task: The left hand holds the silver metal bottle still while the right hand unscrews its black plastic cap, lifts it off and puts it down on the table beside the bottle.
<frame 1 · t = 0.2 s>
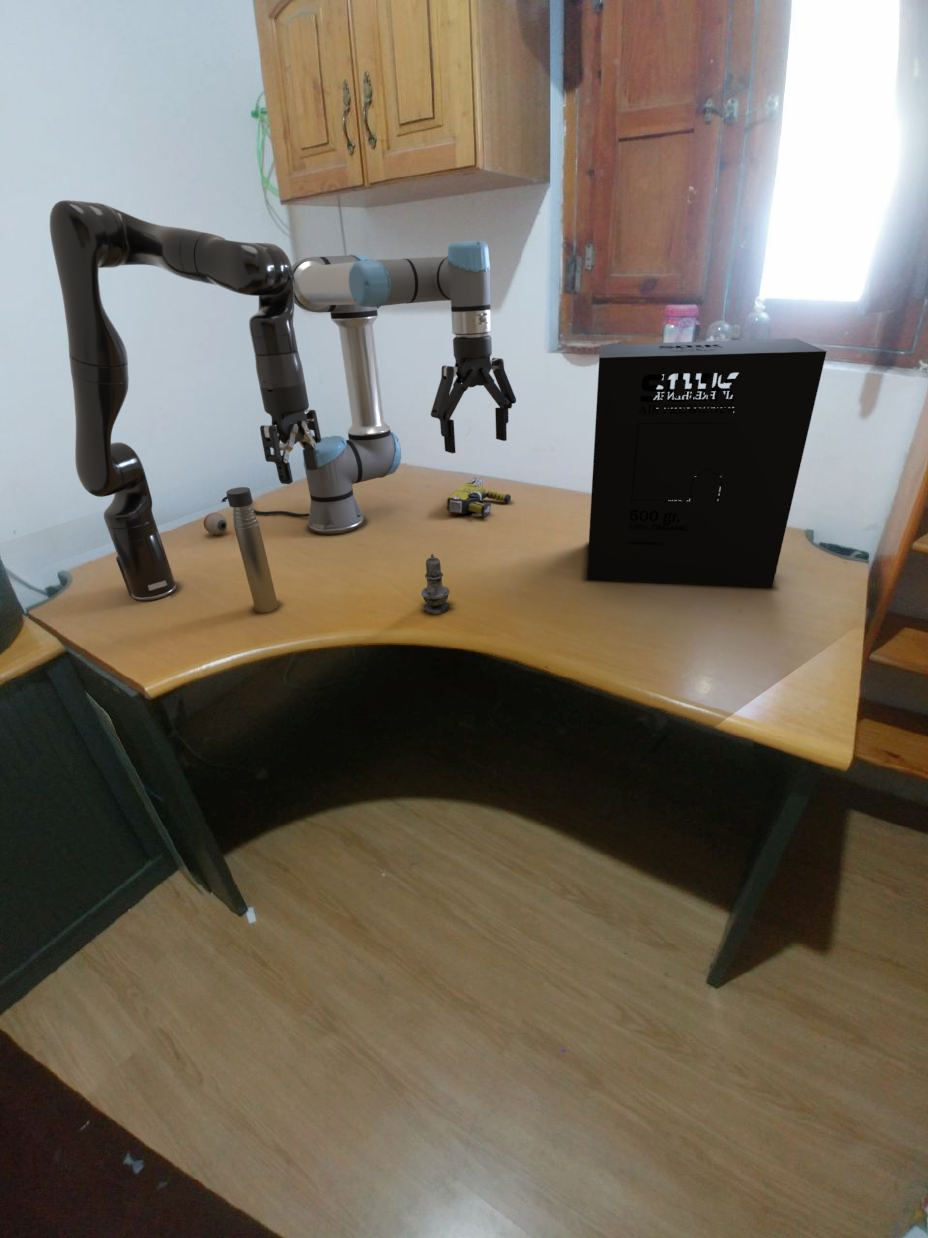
left hand: (299, 476, 110), 29 cm above the table, tool pointing down, fingers open, 8 cm apart
right hand: (476, 445, 127), 28 cm above the table, tool pointing down, fingers open, 13 cm apart
eyeball: (218, 534, 168), on the table
bottle: (266, 607, 129), on the table
toy gun: (483, 504, 178), on the table
grey metal turned piece: (436, 608, 125), on the table
cardboard box: (672, 564, 137), on the table
cap: (238, 492, 116), point 25 cm above the table, screwed on, not yet turned
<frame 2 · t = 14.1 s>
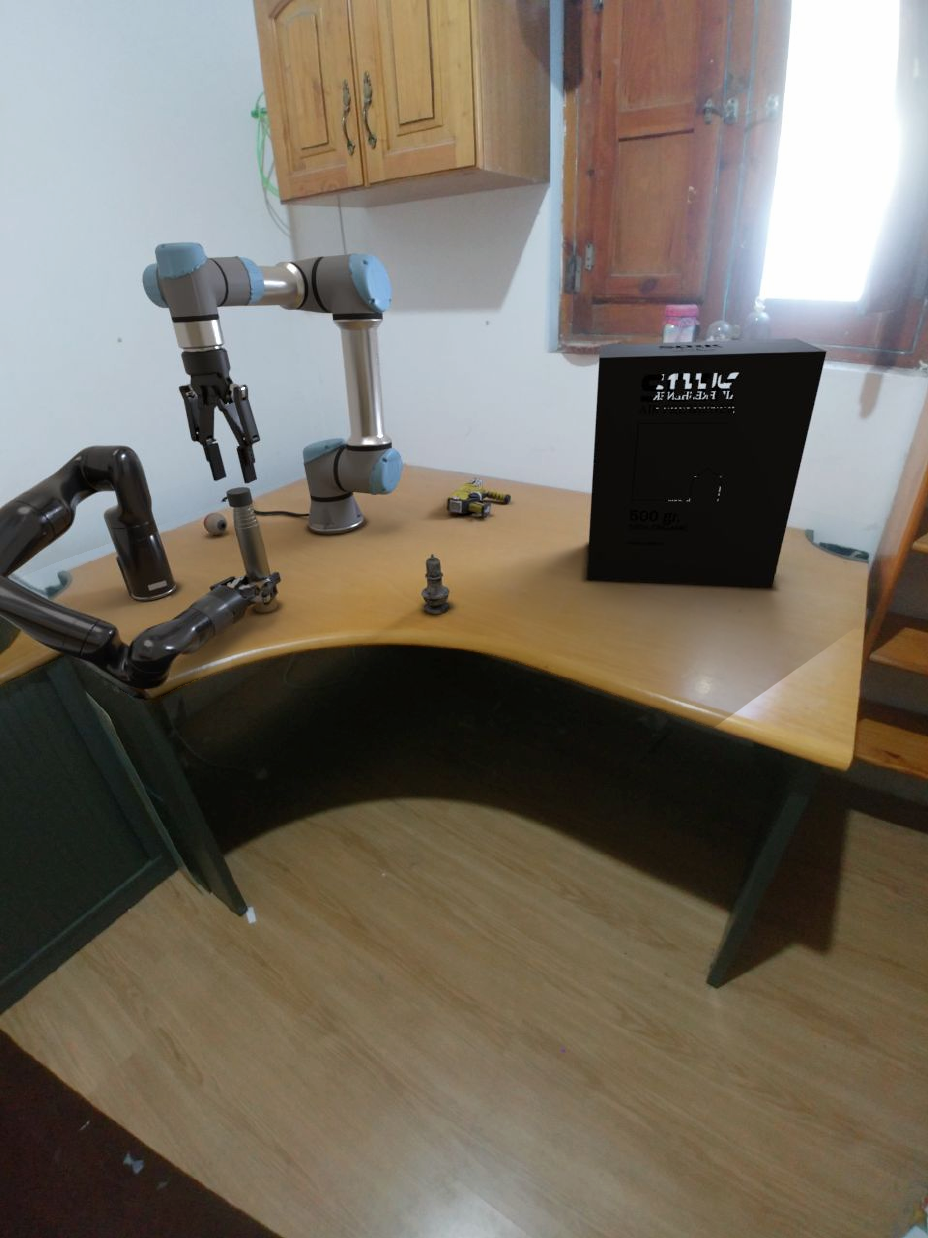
left hand: (267, 574, 128), 7 cm above the table, tool horizontal, fingers closed on bottle, 4 cm apart
right hand: (235, 479, 115), 28 cm above the table, tool pointing down, fingers open, 7 cm apart
bottle: (266, 607, 129), on the table, touching left hand
everything else where it was.
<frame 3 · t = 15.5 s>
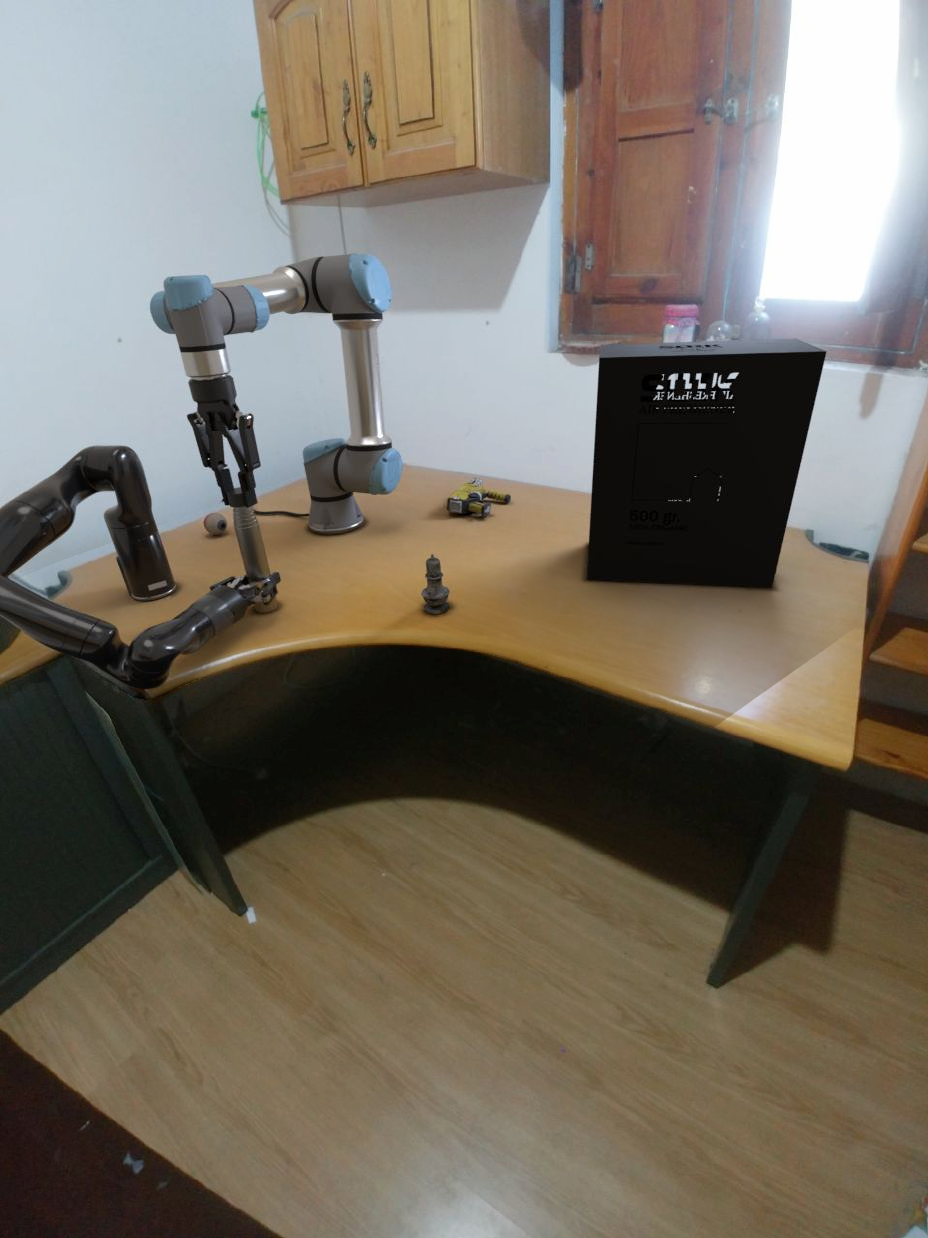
left hand: (267, 574, 128), 7 cm above the table, tool horizontal, fingers closed on bottle, 4 cm apart
right hand: (241, 503, 117), 23 cm above the table, tool pointing down, fingers closed on cap, 4 cm apart
bottle: (266, 607, 129), on the table, touching left hand
cap: (238, 492, 116), point 25 cm above the table, screwed on, not yet turned, touching right hand
everything else where it was.
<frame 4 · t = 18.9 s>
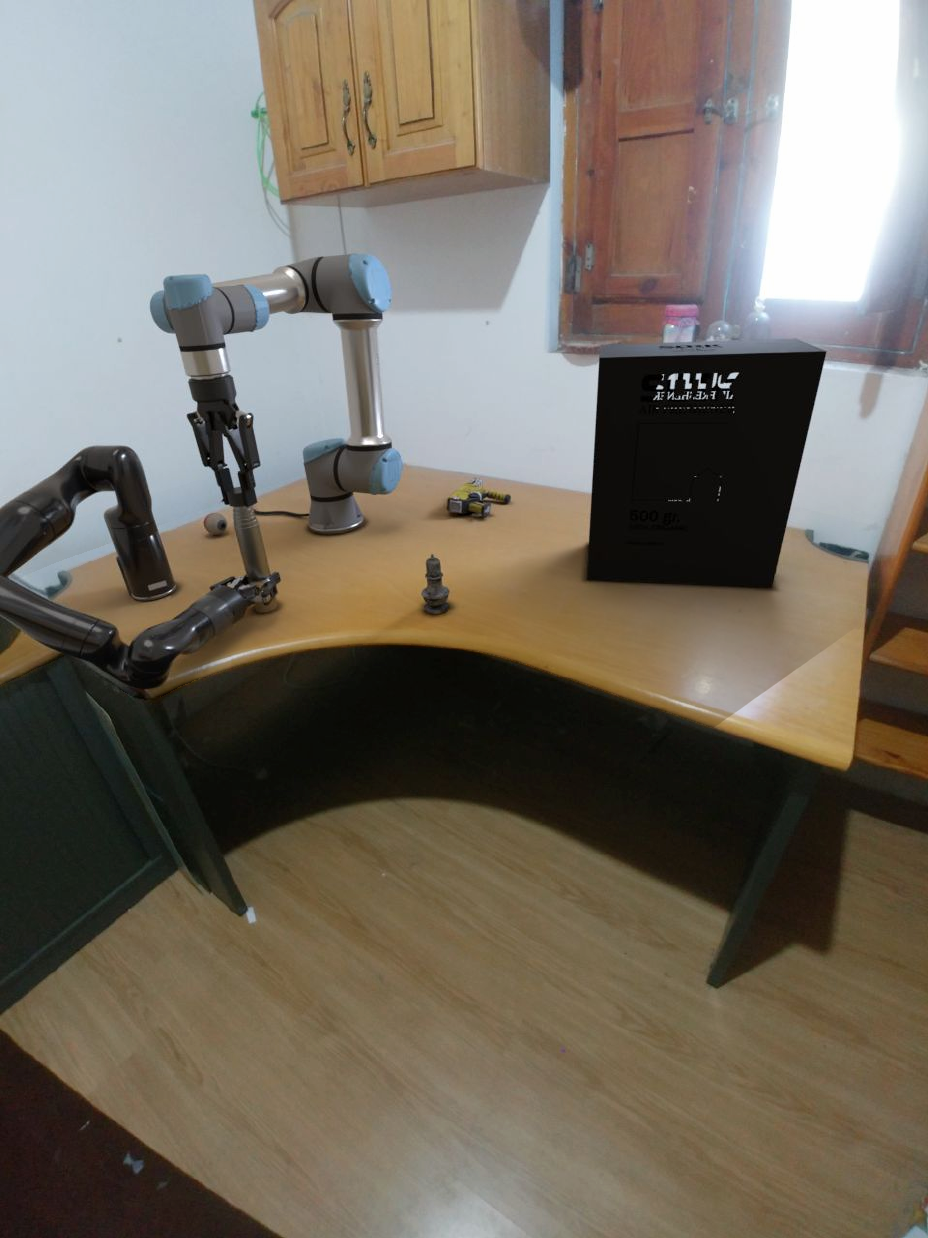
left hand: (267, 574, 128), 7 cm above the table, tool horizontal, fingers closed on bottle, 4 cm apart
right hand: (241, 503, 117), 23 cm above the table, tool pointing down, fingers closed on cap, 4 cm apart
bottle: (266, 607, 129), on the table, touching left hand
cap: (238, 491, 116), point 26 cm above the table, turned 112° so far, risen 0.1 cm, still on its thread, touching right hand
everything else where it was.
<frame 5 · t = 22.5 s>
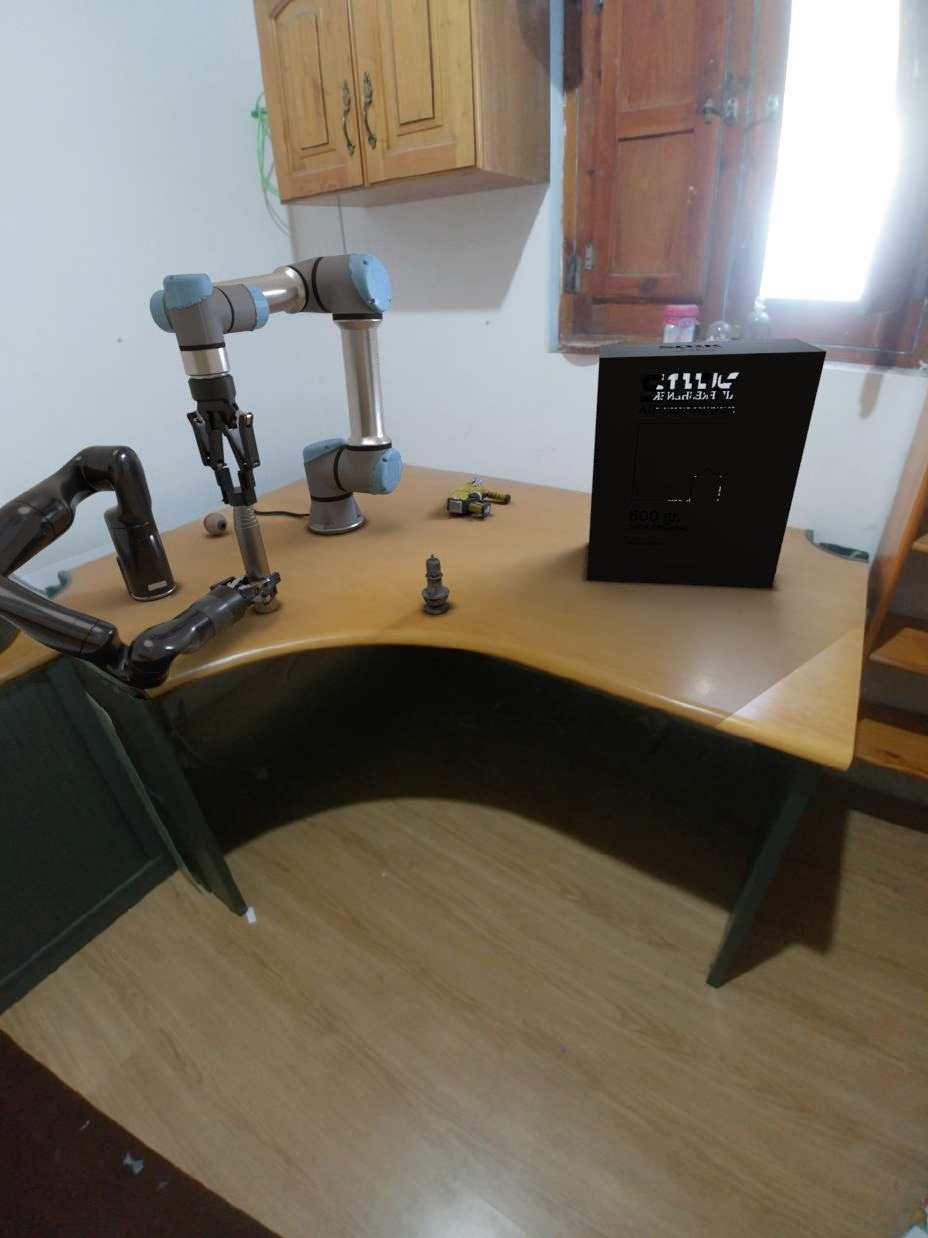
left hand: (267, 574, 128), 7 cm above the table, tool horizontal, fingers closed on bottle, 4 cm apart
right hand: (241, 502, 117), 23 cm above the table, tool pointing down, fingers closed on cap, 4 cm apart
bottle: (266, 607, 129), on the table, touching left hand
cap: (238, 491, 116), point 26 cm above the table, turned 224° so far, risen 0.2 cm, still on its thread, touching right hand
everything else where it was.
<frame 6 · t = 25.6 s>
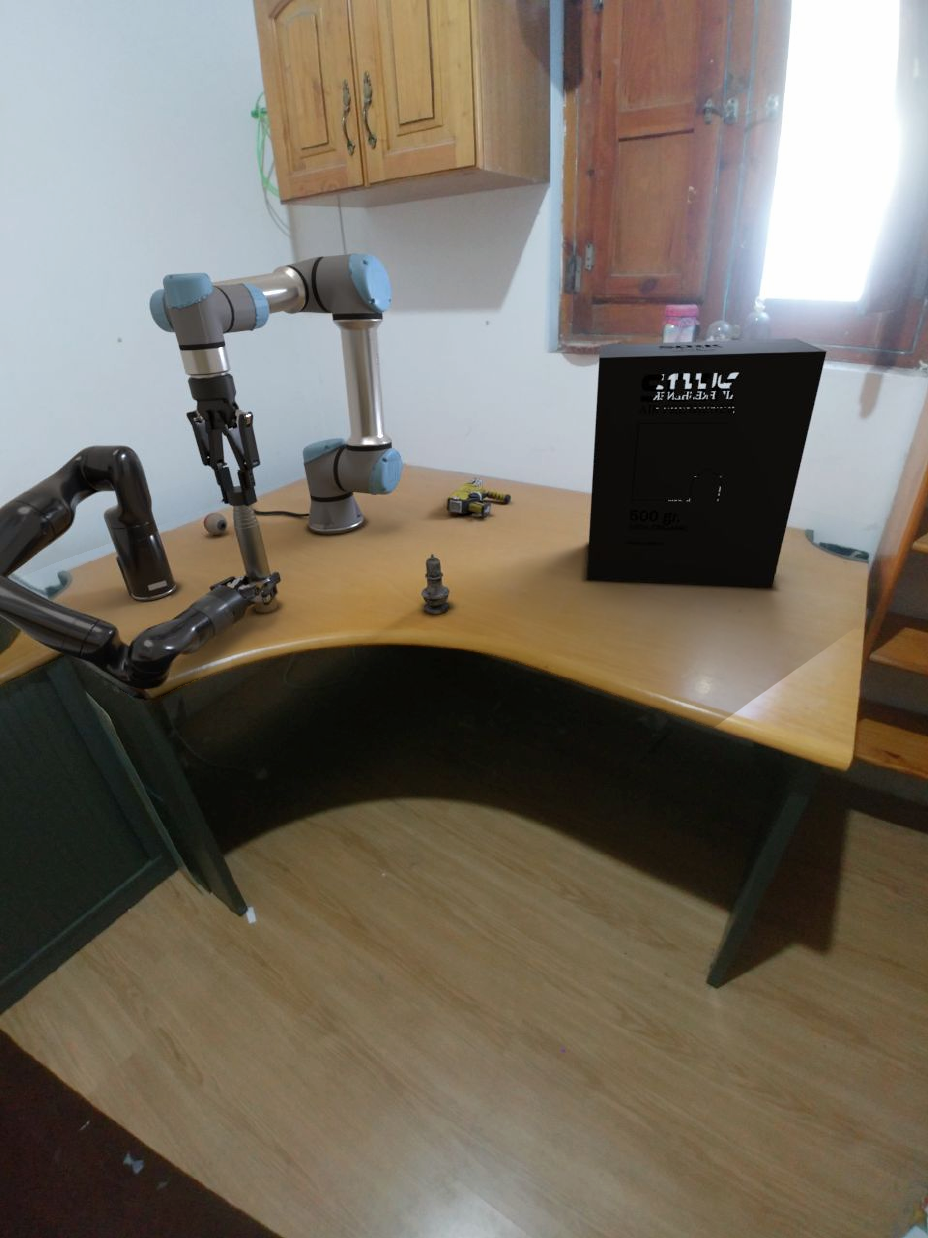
left hand: (267, 574, 128), 7 cm above the table, tool horizontal, fingers closed on bottle, 4 cm apart
right hand: (240, 502, 117), 23 cm above the table, tool pointing down, fingers closed on cap, 4 cm apart
bottle: (266, 607, 129), on the table, touching left hand
cap: (237, 490, 116), point 26 cm above the table, turned 336° so far, risen 0.3 cm, still on its thread, touching right hand
everything else where it was.
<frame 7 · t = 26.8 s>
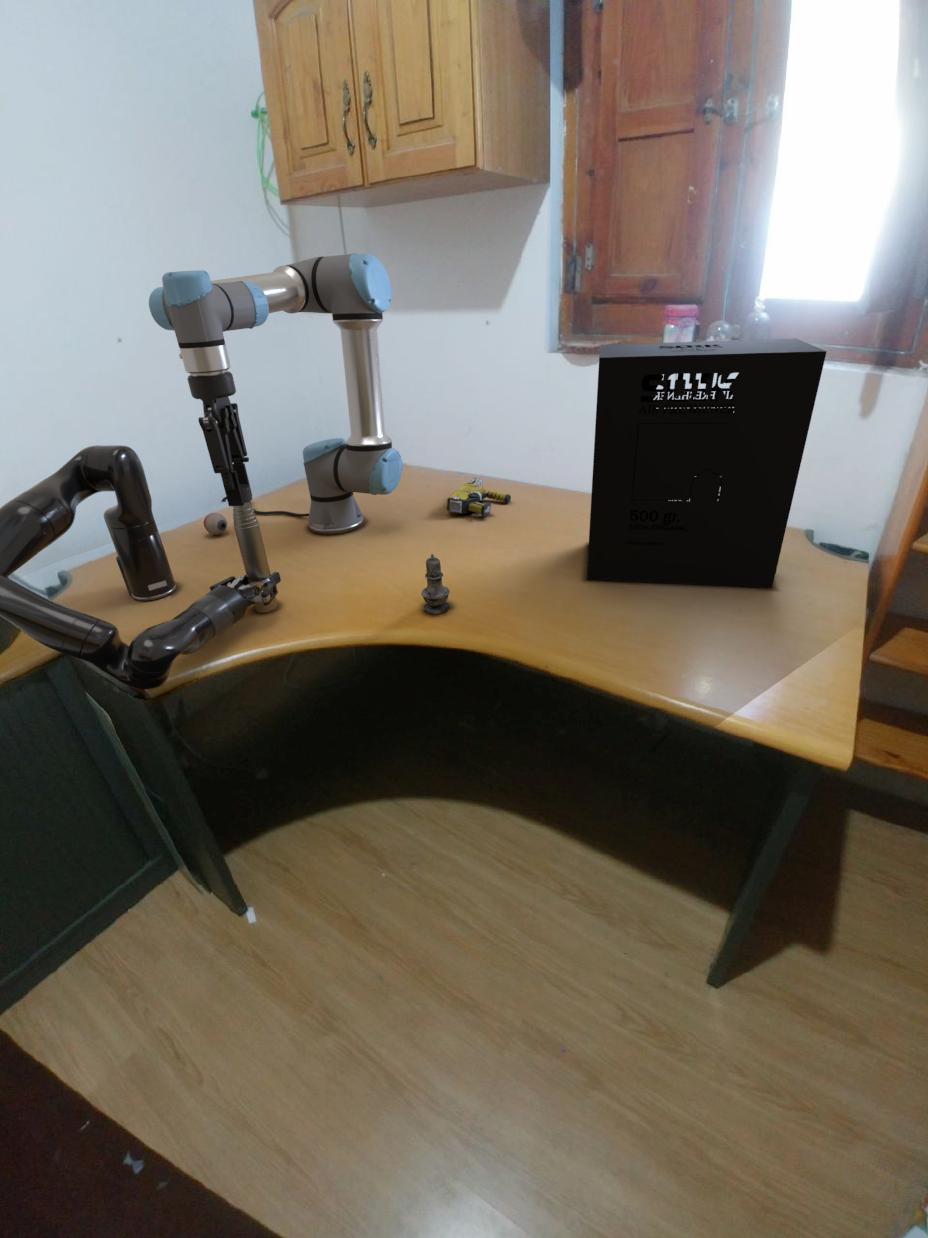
left hand: (267, 574, 128), 7 cm above the table, tool horizontal, fingers closed on bottle, 4 cm apart
right hand: (240, 500, 117), 24 cm above the table, tool pointing down, fingers closed on cap, 4 cm apart
bottle: (266, 607, 129), on the table, touching left hand
cap: (237, 488, 116), point 26 cm above the table, off its thread, touching right hand
everything else where it was.
when the right hand's fingers open (2 cm above the table, at t = 33.8 s): cap drops 2 cm, point 2 cm above the table.
when the left hand's fingers open (7 cm above the table, at t = 35.1 s): bottle stays where it is, on the table.
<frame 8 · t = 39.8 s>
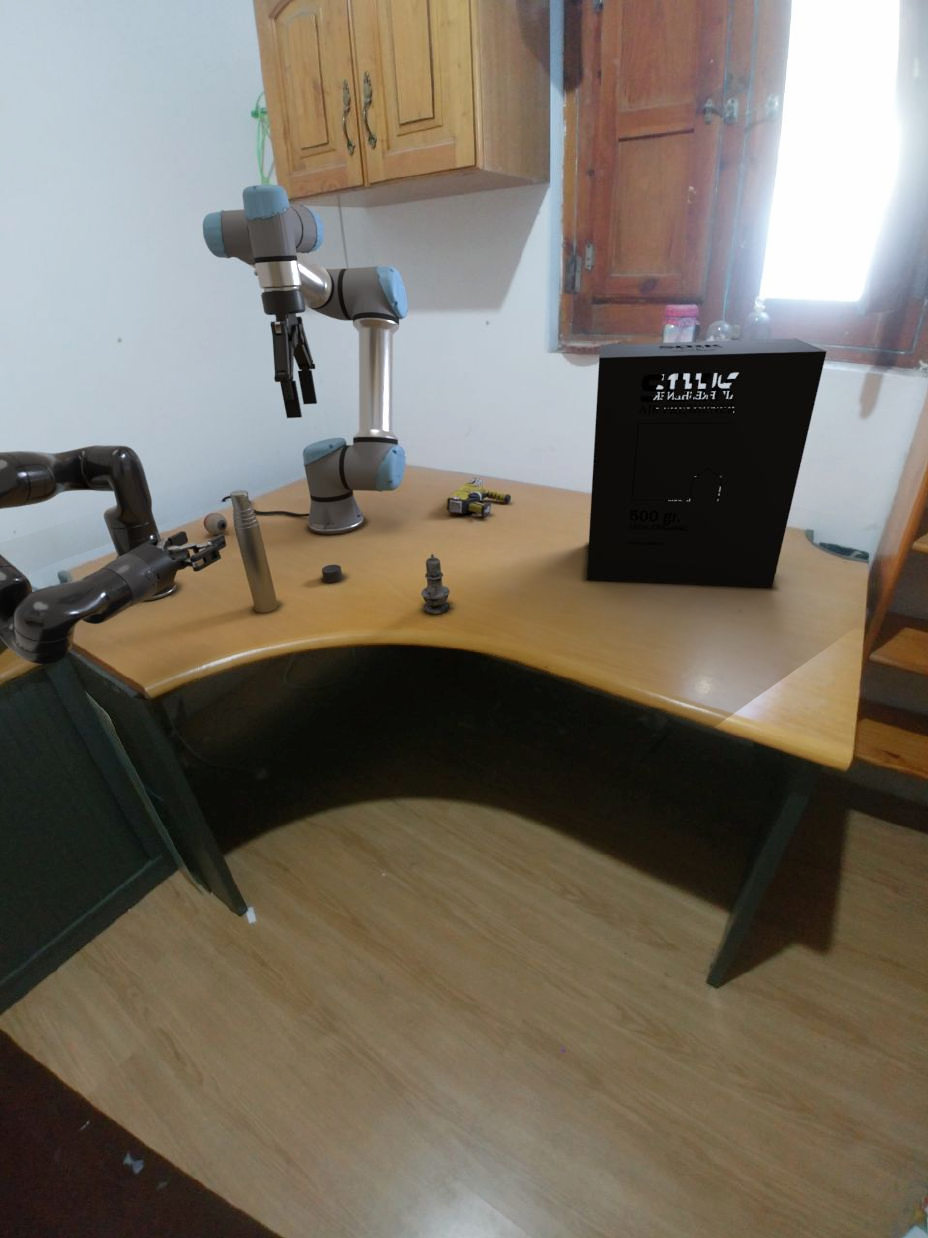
left hand: (204, 537, 109), 21 cm above the table, tool horizontal, fingers open, 8 cm apart
right hand: (302, 410, 121), 38 cm above the table, tool pointing down, fingers open, 13 cm apart
bottle: (266, 607, 129), on the table
cap: (331, 569, 138), point 2 cm above the table, off its thread
everything else where it was.
at the end: cap came off its thread; cap point 2.3 cm above the table; the left hand is holding nothing; the right hand is holding nothing; bottle tilted 0°; bottle moved 0.0 cm from its start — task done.
